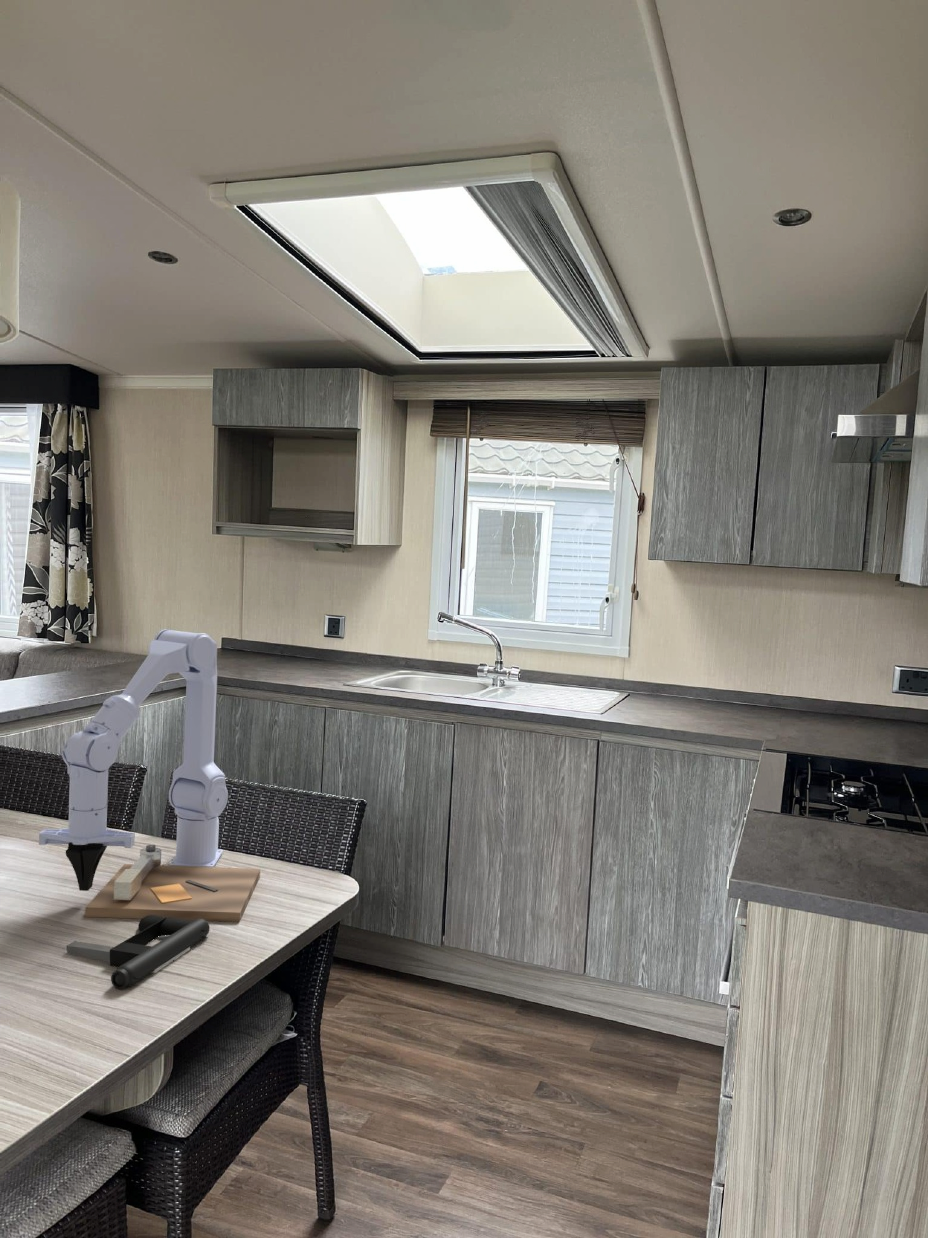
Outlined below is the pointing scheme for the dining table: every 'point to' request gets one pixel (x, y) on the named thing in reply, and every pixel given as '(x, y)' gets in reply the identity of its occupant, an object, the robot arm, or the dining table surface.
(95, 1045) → the dining table surface
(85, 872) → the robot arm
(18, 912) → the dining table surface
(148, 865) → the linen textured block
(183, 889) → the board
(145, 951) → the door handle
